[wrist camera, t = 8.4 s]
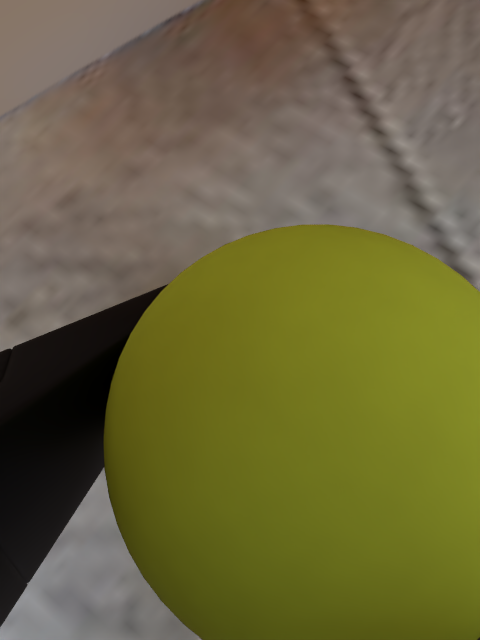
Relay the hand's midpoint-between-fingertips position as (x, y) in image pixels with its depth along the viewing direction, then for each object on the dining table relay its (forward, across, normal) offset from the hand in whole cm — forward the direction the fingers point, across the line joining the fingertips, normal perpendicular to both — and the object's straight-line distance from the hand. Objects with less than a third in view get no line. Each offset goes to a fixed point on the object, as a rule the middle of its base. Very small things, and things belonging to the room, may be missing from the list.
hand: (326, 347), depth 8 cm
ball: (-2, 0, 0) cm, 2 cm away
